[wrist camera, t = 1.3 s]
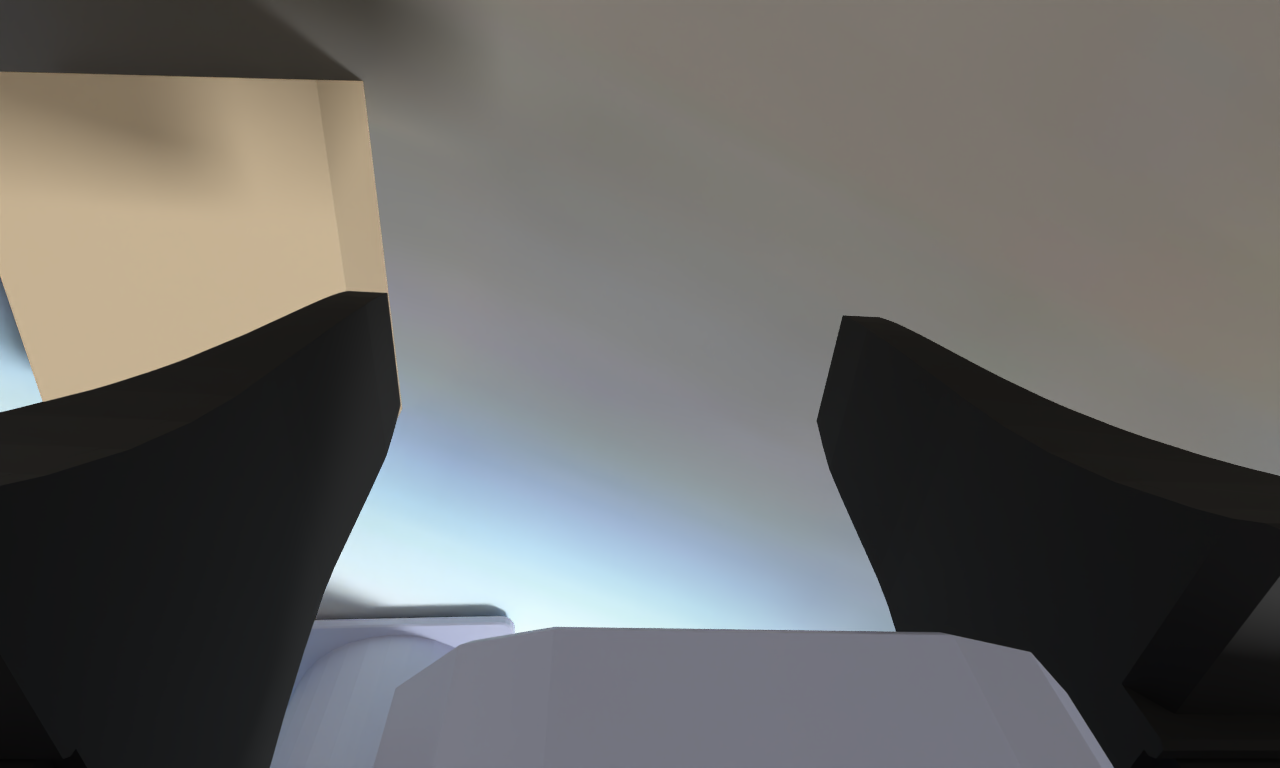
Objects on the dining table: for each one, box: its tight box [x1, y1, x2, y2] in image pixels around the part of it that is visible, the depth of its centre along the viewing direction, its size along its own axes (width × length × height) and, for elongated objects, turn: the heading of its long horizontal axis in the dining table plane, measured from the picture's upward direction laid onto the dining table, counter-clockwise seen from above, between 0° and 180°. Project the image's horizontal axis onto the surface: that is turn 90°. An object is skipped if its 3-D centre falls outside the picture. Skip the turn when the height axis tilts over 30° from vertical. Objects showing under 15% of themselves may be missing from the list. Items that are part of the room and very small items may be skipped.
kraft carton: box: [0, 72, 402, 418], centre depth 17 cm, size 9×7×4 cm
